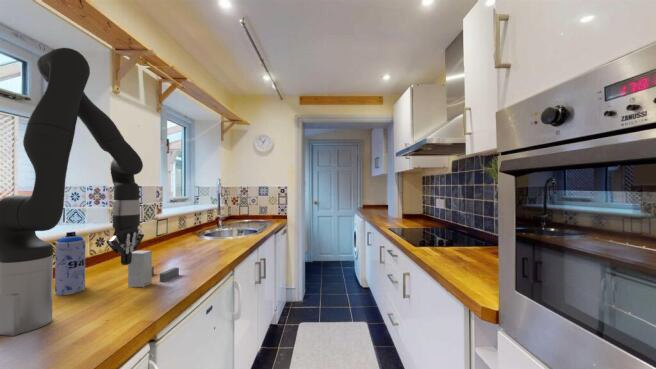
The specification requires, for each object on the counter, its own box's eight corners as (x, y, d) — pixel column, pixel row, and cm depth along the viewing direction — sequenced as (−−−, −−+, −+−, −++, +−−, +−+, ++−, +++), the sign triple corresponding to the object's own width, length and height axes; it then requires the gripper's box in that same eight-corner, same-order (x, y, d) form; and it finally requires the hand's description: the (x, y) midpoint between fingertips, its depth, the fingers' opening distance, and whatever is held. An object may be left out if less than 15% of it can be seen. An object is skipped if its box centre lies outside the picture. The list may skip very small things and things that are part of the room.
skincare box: (152, 283, 100) (152, 250, 100) (143, 287, 96) (143, 253, 96) (136, 282, 101) (137, 250, 101) (127, 286, 97) (127, 252, 97)
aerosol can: (63, 296, 88) (63, 234, 88) (48, 293, 90) (49, 233, 91) (91, 288, 95) (91, 230, 95) (76, 285, 98) (77, 229, 98)
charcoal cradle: (164, 282, 102) (164, 273, 102) (132, 280, 103) (133, 272, 103) (178, 275, 109) (178, 267, 110) (149, 273, 111) (149, 266, 111)
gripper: (119, 215, 86) (119, 270, 86) (151, 211, 99) (151, 259, 99) (98, 215, 87) (97, 269, 87) (132, 211, 100) (132, 258, 100)
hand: (126, 264), depth 93 cm, fingers closed
